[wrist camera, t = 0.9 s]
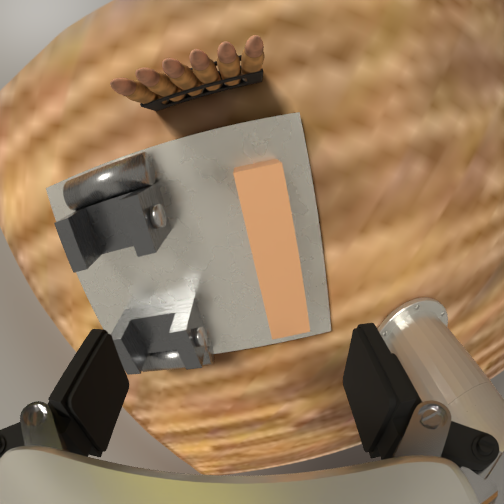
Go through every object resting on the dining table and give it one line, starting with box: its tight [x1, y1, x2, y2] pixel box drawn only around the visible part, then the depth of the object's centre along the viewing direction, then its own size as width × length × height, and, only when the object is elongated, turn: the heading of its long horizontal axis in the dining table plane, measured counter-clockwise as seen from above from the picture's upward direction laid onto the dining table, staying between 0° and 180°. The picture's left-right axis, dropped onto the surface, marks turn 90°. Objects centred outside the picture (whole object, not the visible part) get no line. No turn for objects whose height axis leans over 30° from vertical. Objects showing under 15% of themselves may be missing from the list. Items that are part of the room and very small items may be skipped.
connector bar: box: [233, 159, 310, 340], centre depth 28 cm, size 17×4×4 cm, turn 12°
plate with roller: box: [46, 112, 331, 374], centre depth 28 cm, size 25×28×7 cm
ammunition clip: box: [110, 35, 264, 111], centre depth 19 cm, size 11×2×12 cm, turn 104°
